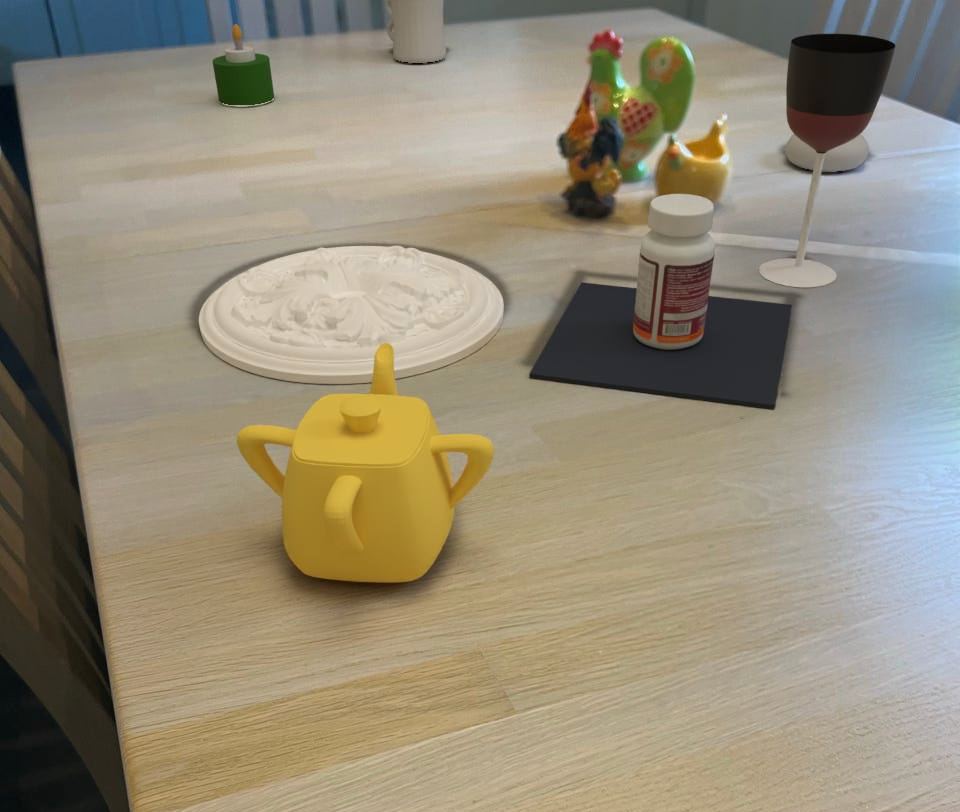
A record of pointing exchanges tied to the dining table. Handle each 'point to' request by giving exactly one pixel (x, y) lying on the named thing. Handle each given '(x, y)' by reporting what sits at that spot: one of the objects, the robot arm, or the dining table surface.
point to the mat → (681, 372)
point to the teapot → (366, 482)
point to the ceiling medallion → (350, 314)
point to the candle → (243, 74)
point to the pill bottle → (674, 272)
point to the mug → (417, 30)
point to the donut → (828, 154)
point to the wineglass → (828, 120)
